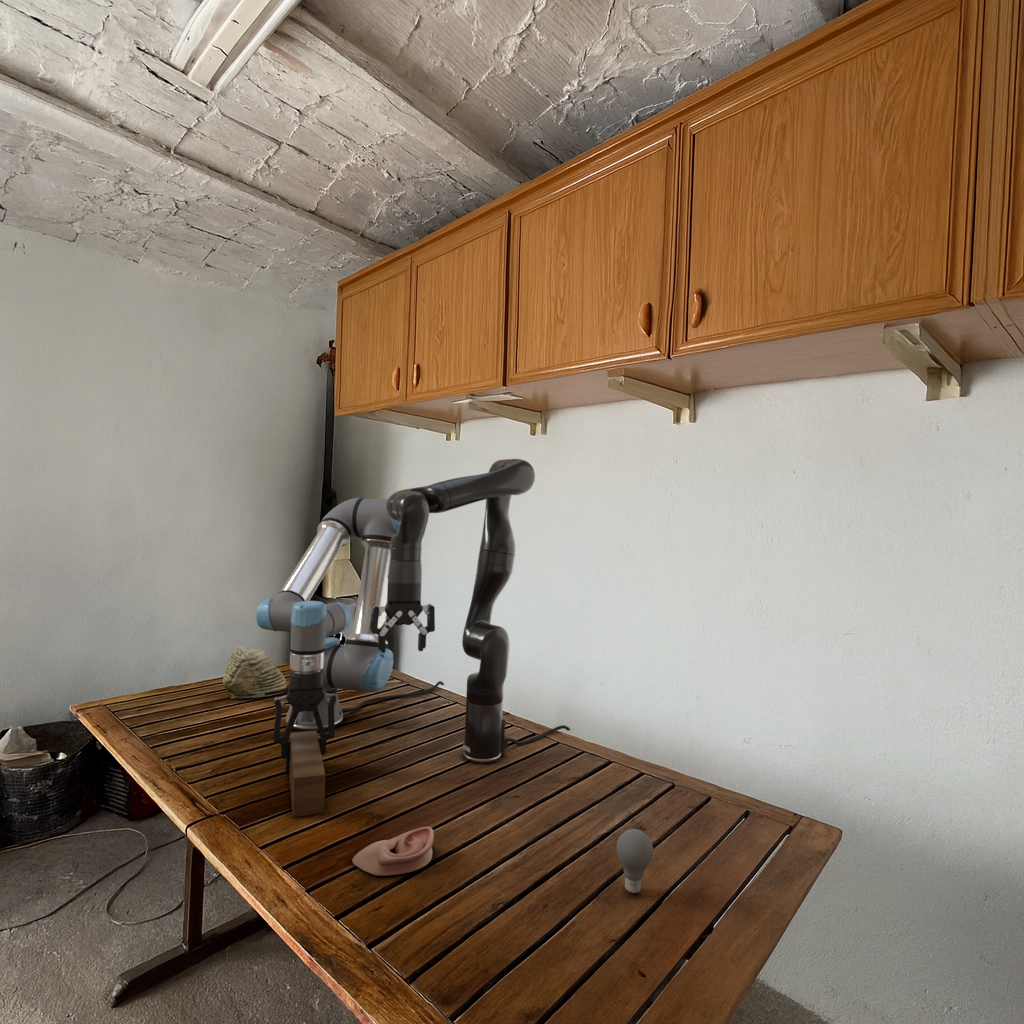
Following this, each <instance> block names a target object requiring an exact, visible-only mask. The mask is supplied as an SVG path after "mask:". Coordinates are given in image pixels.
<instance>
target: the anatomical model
mask: <svg viewBox="0 0 1024 1024" xmlns="http://www.w3.org/2000/svg"><path fill="white" fill-rule="evenodd" d="M434 839H435V833H434V829H433V828H432V827H431V826H423V827H419V828H415V829H411V830H408V831H406V832H404V833H401V834H399V835H397V836H394V837H392V838H390V839H384V840H379V841H375V842H373V843H371V844H369V845H367V846H365V847H364V848H362V849H360V850H359V851H358V852H357V853H356V854H355V855H354V856H353V857H352V860H351V861H352V864H353V865H354V866H356V867H357V868H358V869H360V870H362V871H363V872H366V873H368V874H370V875H373V876H379V877H382V876H385V877H386V876H394V875H401V874H402V875H403V874H407V873H412V872H414V871H418V870H419V869H422V868H424V867H426V866H428V864H429V863H430V862H431V861H432V859H433V848H432V847H433V843H434Z"/></svg>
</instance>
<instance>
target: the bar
mask: <svg viewBox="0 0 1024 1024" xmlns="http://www.w3.org/2000/svg"><path fill="white" fill-rule="evenodd" d="M318 739H319V737H318V732H316V731H304V732H301V731H293V732H291V734H290V737H289V741H290V745H291V747H290V773H289V774H288V776H289V789H290V799H291V801H290V802H291V810H292V811H291V812H292V818H298V817H306V816H313V815H319V814H325V800H326V799H325V798H326V797H325V795H326V771H325V766H324V762H323V761H324V760H323V757H322V756H323V755H321V751H320V746H319V742H318Z"/></svg>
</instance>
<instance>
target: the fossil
mask: <svg viewBox="0 0 1024 1024" xmlns="http://www.w3.org/2000/svg"><path fill="white" fill-rule="evenodd" d="M222 676H223V677H222V685H223V687H224V688H225V690H226V691H228V693H229V698H230V699H250V698H264V697H271V696H275V695H281V694H284V693H285V691H286V689H287V687H288V686H287V680H286V678H285V676H284V674H283V673H282V672H281V669H279V668H278V667H277V665H276V663H275V662H274V660H273V659H272V658H271V657H270V656H269V655H268V654H267V653H266V652H265V650H264V649H263V648H260V647H258V648H251V647H247V646H246V647H245V646H238V647H237V648H236V649H235V650H233V651H232V653H231V656H230V657H229V659H228V660H227V663H226V666H225V668H224V671H223V675H222Z"/></svg>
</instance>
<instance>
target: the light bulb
mask: <svg viewBox="0 0 1024 1024" xmlns="http://www.w3.org/2000/svg"><path fill="white" fill-rule="evenodd" d="M615 849H616V854H617V857H618V859H619V861H620V863H621V865H622V867H623V873H624V874H623V875H624V876H625V878H624V888H625V890H627V891H628V892H630V893H634V894H635V893H639V892H640V891H641V889H642V887H641V886H642V879H643V877H644V875H645V871H646V868H647V867H648V866H649V864H650V863H651V861H652V859H653V855H654V847H653V843H652V841H651V838H649V836H648V835H647V834H646V833H645V832H643V831H642V830H641V829H636V828H629V829H627V830H625V831H623V832H622V833H621V834H620V835H619V837H618V839H617V841H616V847H615Z"/></svg>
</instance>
